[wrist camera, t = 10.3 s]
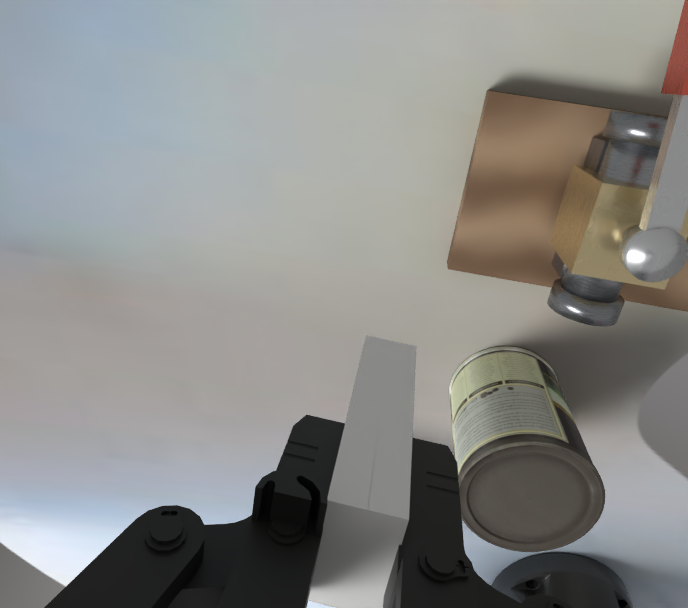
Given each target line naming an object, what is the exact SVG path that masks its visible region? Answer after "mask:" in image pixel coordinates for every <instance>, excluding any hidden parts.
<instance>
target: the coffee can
mask: <svg viewBox="0 0 688 608" xmlns="http://www.w3.org/2000/svg"><path fill="white" fill-rule="evenodd" d="M449 398H450V403H451V417H452V430H453V444H454V458H455V459H456V461H457V465H458V478H459V479H458V482H459V491H460V493H459V496H460V504H461V517H462V519H463V521H464V523H465V524H466V525H467V527H468V528H469V529H470V530H471V531H472V532H474V533H475V534H476V535H477V536H479V537H480V538H482V539H483V540H485V541H487V542H489V543H491V544H493V545H496V546H499V547H501V548H505V549H509V550H513V551H521V552H538V551H546V550H551V549H556V548H559V547H563V546H565V545H568V544H570V543H572V542H574V541H576V540H577V539H579V538H581V537H582V536H584V535H585V534H586V533H587V532H588V531H589V530H590V529H591V528H592V527H593V526H594V524H596V522H597V521H598V519H599V518H600V516H601V513H602V511H603V508H604V504H605V489H604V485H603V482H602V479H601V477H600V475H599V473H598V471H597V469H596V468H595V466H594V465H593V463H592V461H591V458H590V456H589V454H588V452H587V450H586V447H585V445H584V443H583V440H582V438H581V435H580V433H579V431H578V428H577V426H576V424H575V421H574V419H573V417H572V414H571V412H570V410H569V407H568V405H567V403H566V400H565V398H564V396H563V393H562V391H561V388H560V386H559V383H558V380H557V377H556V374H555V373H554V371H553V369H552V368H551V367H550V365H549V364H548V363H547V362H546V361H545V360H544V359H542V358H541V357H540V356H538V355H536V354H535V353H533V352H531V351H528V350H525V349H522V348H517V347H507V346H504V347H493V348H488V349H486V350H483V351H480V352H478V353H476V354H474V355H472V356H471V357H469V358H468V359H467V360H465V361H464V362H463V363H462V364H461V365H460V366H459V368H458V369H457V370H456V371H455V373H454V376H453V378H452V380H451V383H450V388H449Z"/></svg>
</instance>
